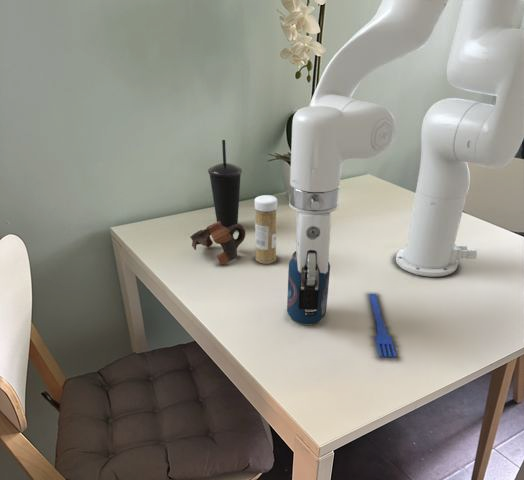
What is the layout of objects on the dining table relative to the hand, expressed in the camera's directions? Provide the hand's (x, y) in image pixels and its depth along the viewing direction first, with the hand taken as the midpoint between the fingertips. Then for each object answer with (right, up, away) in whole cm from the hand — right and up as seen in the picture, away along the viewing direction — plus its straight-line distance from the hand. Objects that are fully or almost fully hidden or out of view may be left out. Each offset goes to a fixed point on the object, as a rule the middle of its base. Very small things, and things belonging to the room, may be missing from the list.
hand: (307, 296), depth 88 cm
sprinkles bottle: (-7, +10, +21) cm, 24 cm away
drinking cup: (-16, +20, +35) cm, 43 cm away
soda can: (0, -4, +3) cm, 4 cm away
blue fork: (+13, -5, +1) cm, 14 cm away
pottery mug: (-17, +11, +23) cm, 30 cm away
